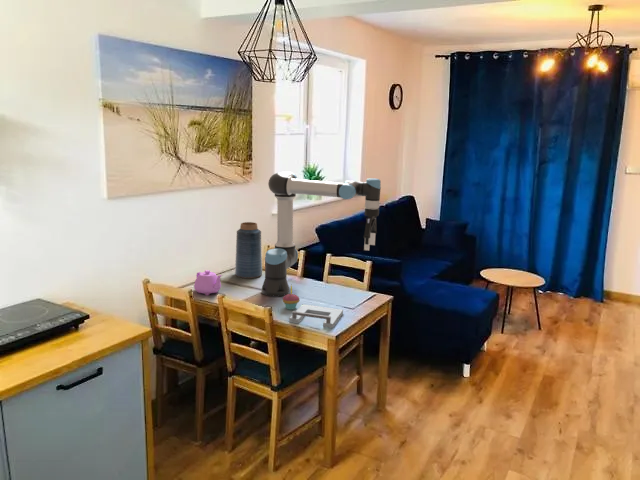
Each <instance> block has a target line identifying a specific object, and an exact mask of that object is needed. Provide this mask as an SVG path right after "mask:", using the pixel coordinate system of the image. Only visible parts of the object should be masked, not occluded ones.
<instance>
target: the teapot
mask: <svg viewBox="0 0 640 480" xmlns="http://www.w3.org/2000/svg"><path fill="white" fill-rule="evenodd" d="M195 276H196V279H195V280H194V284H193V288H194V290H195V291H196V292H197V293H198V294H204V296H210V294H217V293H218V292H219V291H220V290H221V287H222V283H221V277H222V276H223V275H222V274H220V275H217V274H216V273H215V272H214V271H211V270H209V269H207V270H204V271H203V272H201V271H199V272H196V275H195Z"/></svg>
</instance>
